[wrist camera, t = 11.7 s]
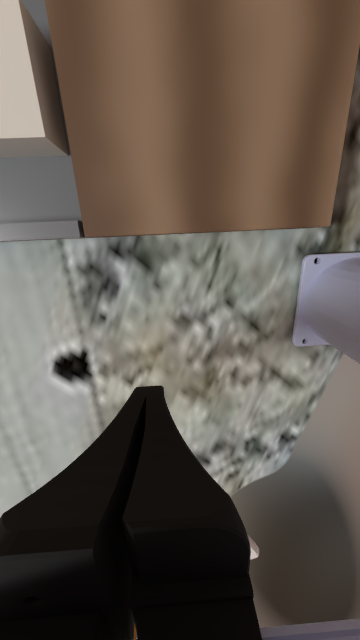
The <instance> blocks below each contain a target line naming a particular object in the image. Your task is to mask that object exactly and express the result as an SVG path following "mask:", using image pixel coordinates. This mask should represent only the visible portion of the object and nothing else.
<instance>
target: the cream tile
mask: <svg viewBox="0 0 360 640" xmlns="http://www.w3.org/2000/svg"><path fill="white" fill-rule="evenodd" d="M44 156H68V152H67V146H66V140H65V135H64V129H63V123H62V117H61V111H60V106H59V100H58V94H57V88H56V82H55V77H54V71H53V65H52V59H51V54H50V48H49V44H48V42H47V41H46V39H45V38H44V36H43V34H42V33H41V31H40V30H39V28H38V26H37V25H36V23H35V21H34V20H33V18H32V17H31V15H30V13H29V12H28V10H27V9H26V7H25V5H24V4H23V2H22V1H21V0H0V158H14V157H44Z"/></svg>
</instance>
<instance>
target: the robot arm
mask: <svg viewBox="0 0 360 640" xmlns="http://www.w3.org/2000/svg"><path fill="white" fill-rule="evenodd" d="M316 258H317V260H318V261H317V262H316V263H314V260H315V259H316ZM303 339H305V341H304V342H302V340H303ZM292 343H293V344H294V345H295V346H315V345H332V346H333V347H335V348H337V349H338V350H340V351H341V352H343V353H344V354H346V355H347V356H349V357H350V358H352V359H353V360H355V361H356V362H358V363H359V364H360V252H352V253H331V254H310V255H307V256H305V257H304V258H303V261H302V268H301V276H300V284H299V291H298V299H297V306H296V314H295V322H294V329H293V337H292ZM250 555H251V548H250V542H249V538H248V535H247V533H246V530H245V527H244V525H243V523H242V520H241V518H240V516H239V514H238V512H237V509H236V507H235V505H234V503H233V501H232V500H231V498H230V496H229V495H228V494H227V493H226V492H225V491H224V490H223V489H222V488H221V487H220V486H219V485H218V484H217V483H216V481H215V480H214V479H213V478H212V477H211V476H210V475H209V474H208V472H207V471H206V470H205V469H204V468H203V466H202V465H201V464H200V462H199V461H198V460H197V458H196V457H195V456H194V455H193V453H192V452H191V450H190V449H189V447H188V446H187V444H186V443H185V441H184V440H183V438H182V436H181V435H180V433H179V431H178V429H177V427H176V425H175V423H174V421H173V419H172V417H171V415H170V412H169V409H168V407H167V404H166V401H165V397H164V388H163V387H162V386H147V387H136V388H135V389H134V391H133V393H132V394H131V396H130V397H129V399H128V400H127V402H126V403H125V405H124V406H123V407H122V409H121V410H120V411H119V413H118V414H117V416H116V417H115V418H114V419H113V421H112V422H111V423H110V424H109V425H108V427H107V428H106V429H105V430H104V431H103V433H102V434H101V435H100V436H99V437H98V438H97V439H96V440H95V441H94V442H93V443H92V444H91V445H90V446H89V447H88V448H87V449H86V450H85V451H84V452H83V453H82V454H81V455H80V456H79V457H78V458H77V459H76V460H75V461H73V462H72V463H71V464H70V465H69V466H68V467H67V468H65V469H64V470H63V471H62V472H61V473H59V474H58V475H57V476H56V477H54V478H53V479H52V480H50V481H49V482H48V483H46V484H45V485H44V486H42V487H41V488H40V489H38V490H37V491H36V492H34V493H33V494H31V495H30V496H28V497H27V498H25V499H24V500H22V501H21V502H20V503H18V504H17V505H15V506H14V507H12V508H11V509H9V510H8V511H6V512H5V513H3V515H2V516H1V518H0V640H134V624H135V627H136V631H137V636H138V638H137V639H135V640H360V619H352V620H342V621H331V622H320V623H309V624H298V625H287V626H278V627H265V628H259V624H258V619H257V615H256V611H255V606H254V602H253V589H252V585H251V580H250V577H249V565H250Z"/></svg>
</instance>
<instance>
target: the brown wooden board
mask: <svg viewBox="0 0 360 640" xmlns="http://www.w3.org/2000/svg"><path fill="white" fill-rule="evenodd" d="M45 6H46V12H47V18H48V23H49V29H50V35H51V41H52V47H53V53H54V59H55V65H56V70H57V76H58V82H59V88H60V94H61V100H62V106H63V112H64V117H65V123H66V129H67V135H68V141H69V147H70V153H71V158H72V164H73V170H74V176H75V182H76V188H77V194H78V200H79V205H80V211H81V217H82V223H83V229H84V235H85V237H118V236H140V235H162V234H184V233H207V232H229V231H251V230H273V229H296V228H313V227H326V226H330V225H331V219H332V213H333V206H334V200H335V194H336V188H337V182H338V176H339V170H340V163H341V157H342V151H343V145H344V139H345V133H346V127H347V121H348V114H349V108H350V102H351V96H352V90H353V84H354V78H355V71H356V65H357V59H358V53H359V47H360V0H45Z"/></svg>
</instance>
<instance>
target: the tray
mask: <svg viewBox="0 0 360 640" xmlns="http://www.w3.org/2000/svg"><path fill="white" fill-rule="evenodd" d="M21 1H22V2H23V4H24V5H25V7H26V9H27V10H28V12H29V13H30V15H31V17H32V18H33V20H34V21H35V23H36V25H37V26H38V28H39V30H40V31H41V33H42V34H43V36H44V38H45V39H46V41H47V42H48V44H49V48H50V54H51V59H52V65H53V71H54V77H55V82H56V88H57V94H58V100H59V106H60V111H61V117H62V123H63V129H64V135H65V140H66V146H67V152H68V156H44V157H14V158H0V242H6V241H29V240H51V239H73V238H94V237H85V235H84V229H83V223H82V217H81V211H80V205H79V200H78V194H77V188H76V182H75V176H74V170H73V164H72V158H71V153H70V147H69V141H68V135H67V129H66V123H65V117H64V112H63V106H62V100H61V94H60V88H59V82H58V76H57V70H56V65H55V59H54V53H53V47H52V41H51V35H50V29H49V23H48V18H47V12H46V6H45V0H21Z"/></svg>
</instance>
